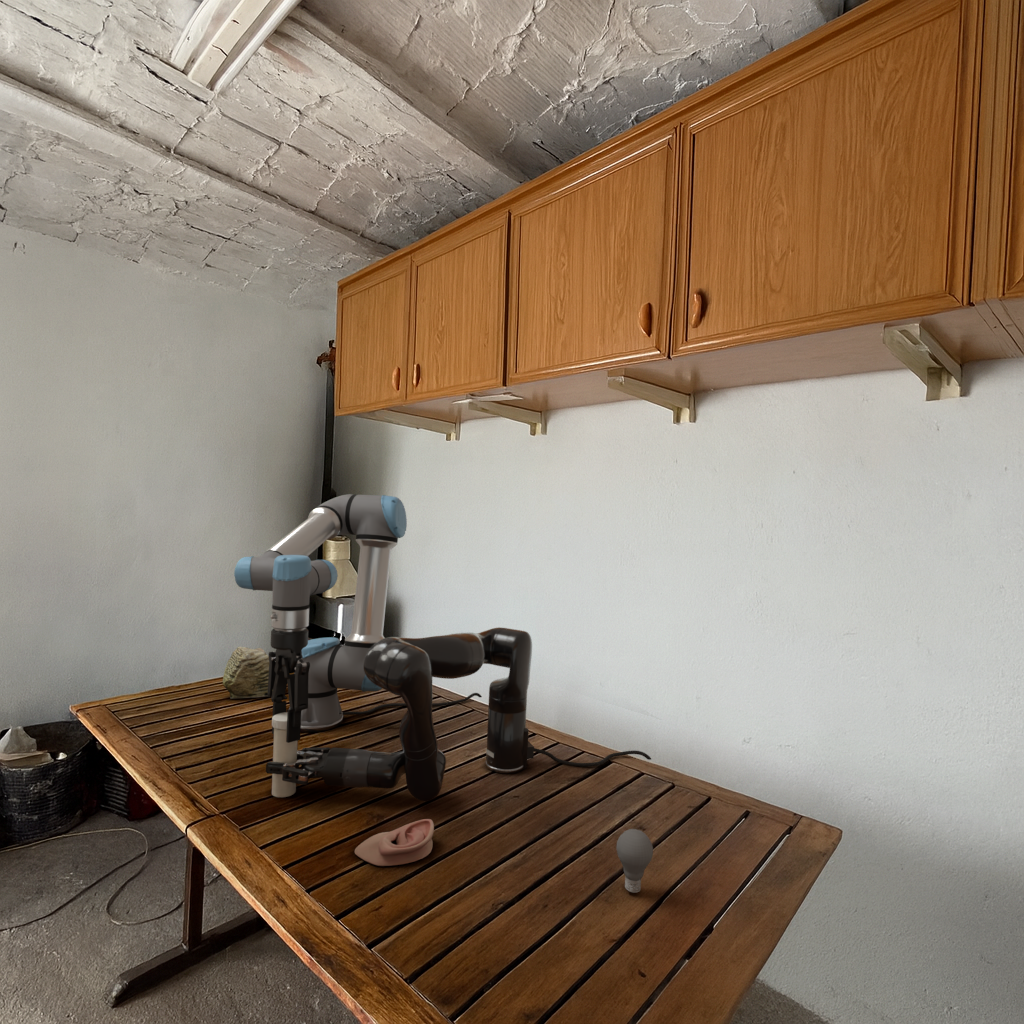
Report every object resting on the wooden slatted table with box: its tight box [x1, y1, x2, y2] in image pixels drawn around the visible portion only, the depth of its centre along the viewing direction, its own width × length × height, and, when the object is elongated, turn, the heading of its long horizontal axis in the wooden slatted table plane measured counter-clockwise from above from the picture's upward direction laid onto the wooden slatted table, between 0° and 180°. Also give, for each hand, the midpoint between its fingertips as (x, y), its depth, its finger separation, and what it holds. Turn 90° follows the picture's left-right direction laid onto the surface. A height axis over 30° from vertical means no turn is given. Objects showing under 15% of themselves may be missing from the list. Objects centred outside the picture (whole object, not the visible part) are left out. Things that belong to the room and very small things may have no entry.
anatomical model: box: [354, 818, 435, 867], centre depth 115 cm, size 13×4×12 cm
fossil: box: [222, 646, 273, 699], centre depth 198 cm, size 9×18×15 cm, turn 132°
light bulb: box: [615, 828, 654, 894], centre depth 106 cm, size 6×6×10 cm
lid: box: [271, 711, 287, 729], centre depth 135 cm, size 6×6×2 cm
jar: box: [271, 728, 299, 798], centre depth 135 cm, size 5×5×16 cm
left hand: (285, 736), depth 135 cm, fingers closed on lid, 6 cm apart
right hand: (272, 762), depth 135 cm, fingers closed on jar, 5 cm apart
